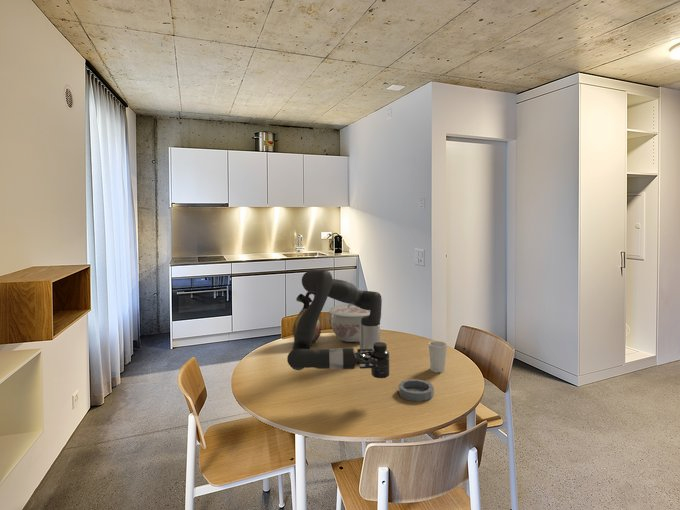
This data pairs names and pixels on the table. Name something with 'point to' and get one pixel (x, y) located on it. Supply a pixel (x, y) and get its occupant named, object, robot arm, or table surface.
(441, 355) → the cup
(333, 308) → the chamber pot
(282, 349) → the table surface
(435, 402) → the table surface
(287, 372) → the table surface
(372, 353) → the supplement bottle
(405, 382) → the dish
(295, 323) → the ceramic jug
